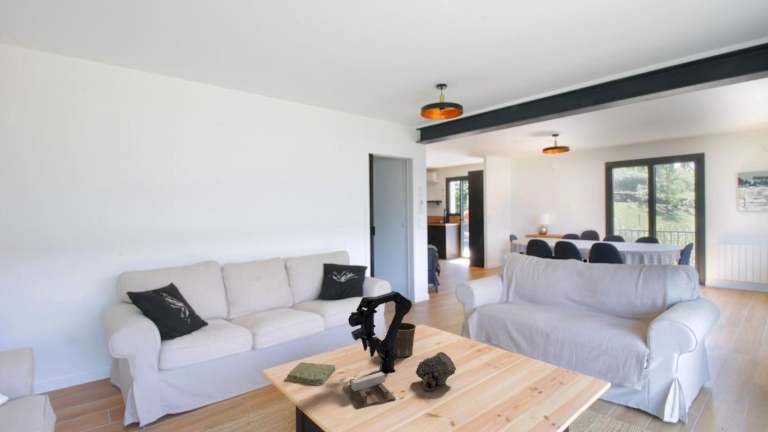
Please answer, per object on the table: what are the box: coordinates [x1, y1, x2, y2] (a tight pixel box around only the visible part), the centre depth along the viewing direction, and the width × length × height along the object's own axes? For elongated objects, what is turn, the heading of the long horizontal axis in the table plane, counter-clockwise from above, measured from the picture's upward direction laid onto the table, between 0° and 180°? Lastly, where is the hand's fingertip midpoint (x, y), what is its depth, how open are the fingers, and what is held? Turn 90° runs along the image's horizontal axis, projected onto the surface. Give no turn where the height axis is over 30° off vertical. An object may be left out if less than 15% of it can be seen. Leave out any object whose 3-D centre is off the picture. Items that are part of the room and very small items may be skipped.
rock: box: [415, 351, 457, 392], centre depth 185 cm, size 18×14×15 cm
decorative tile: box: [286, 361, 336, 386], centre depth 197 cm, size 19×20×4 cm
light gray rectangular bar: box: [351, 371, 386, 391], centre depth 177 cm, size 16×3×4 cm, turn 123°
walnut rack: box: [342, 378, 397, 409], centre depth 177 cm, size 18×20×4 cm
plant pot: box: [387, 322, 417, 358], centre depth 225 cm, size 16×16×16 cm
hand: (368, 353), depth 194 cm, fingers open, 9 cm apart
